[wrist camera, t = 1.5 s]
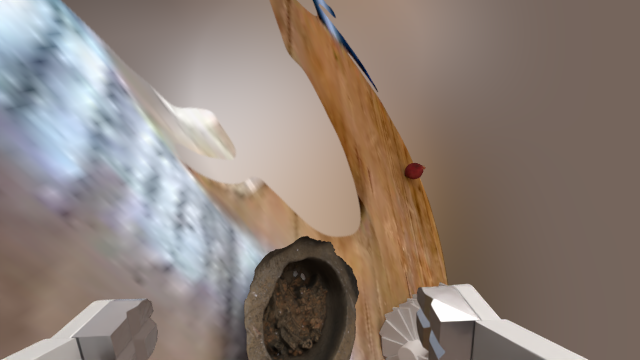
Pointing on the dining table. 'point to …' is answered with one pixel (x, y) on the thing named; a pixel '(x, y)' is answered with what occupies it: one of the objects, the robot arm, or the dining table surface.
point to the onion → (414, 170)
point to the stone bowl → (301, 305)
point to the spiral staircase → (403, 333)
